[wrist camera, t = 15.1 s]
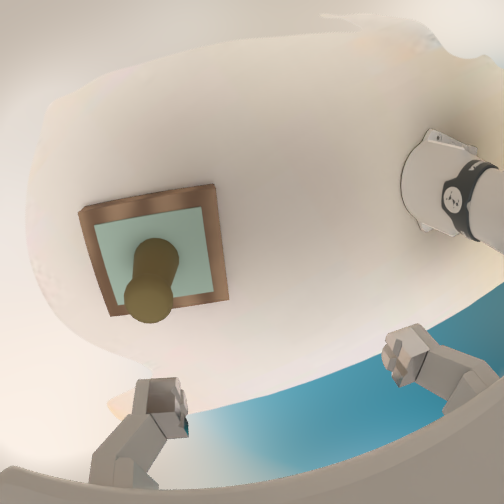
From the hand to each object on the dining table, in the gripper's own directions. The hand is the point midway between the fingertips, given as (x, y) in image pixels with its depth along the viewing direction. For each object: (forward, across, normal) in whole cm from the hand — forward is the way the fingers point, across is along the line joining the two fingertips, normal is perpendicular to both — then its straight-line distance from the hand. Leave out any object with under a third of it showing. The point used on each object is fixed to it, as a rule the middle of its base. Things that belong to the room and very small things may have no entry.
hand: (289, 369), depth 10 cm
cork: (+27, +10, +7) cm, 30 cm away
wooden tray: (+30, +10, +7) cm, 33 cm away
